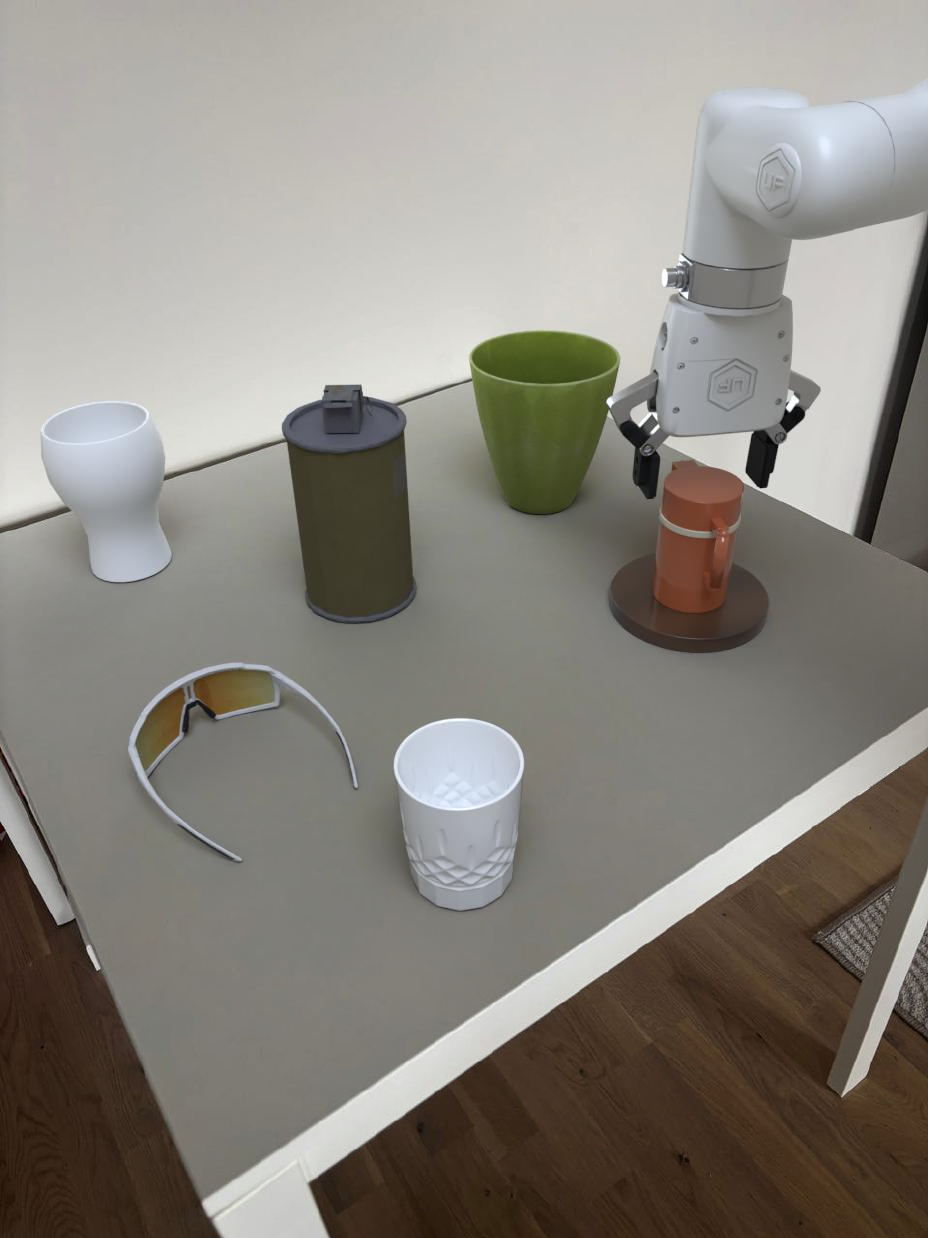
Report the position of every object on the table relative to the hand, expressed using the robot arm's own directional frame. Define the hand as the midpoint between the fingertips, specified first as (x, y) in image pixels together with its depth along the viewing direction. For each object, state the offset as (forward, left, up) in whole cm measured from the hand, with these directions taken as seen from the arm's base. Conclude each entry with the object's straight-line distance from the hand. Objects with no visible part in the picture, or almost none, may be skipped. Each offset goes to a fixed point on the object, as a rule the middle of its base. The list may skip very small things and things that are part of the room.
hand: (701, 486), depth 81 cm
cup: (+33, +43, -12) cm, 55 cm away
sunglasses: (-1, +42, -12) cm, 44 cm away
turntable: (0, 0, -12) cm, 12 cm away
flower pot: (+24, +1, -12) cm, 27 cm away
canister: (+17, +25, -12) cm, 33 cm away
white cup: (-17, +32, -12) cm, 38 cm away
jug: (-1, 0, -11) cm, 11 cm away
